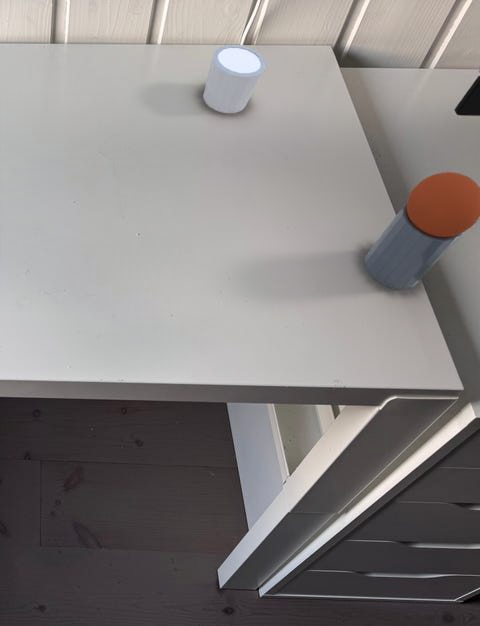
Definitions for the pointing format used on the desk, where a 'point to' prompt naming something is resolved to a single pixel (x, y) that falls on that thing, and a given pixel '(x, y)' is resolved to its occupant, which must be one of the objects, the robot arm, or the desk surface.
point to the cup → (404, 253)
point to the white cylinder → (232, 78)
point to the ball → (444, 204)
